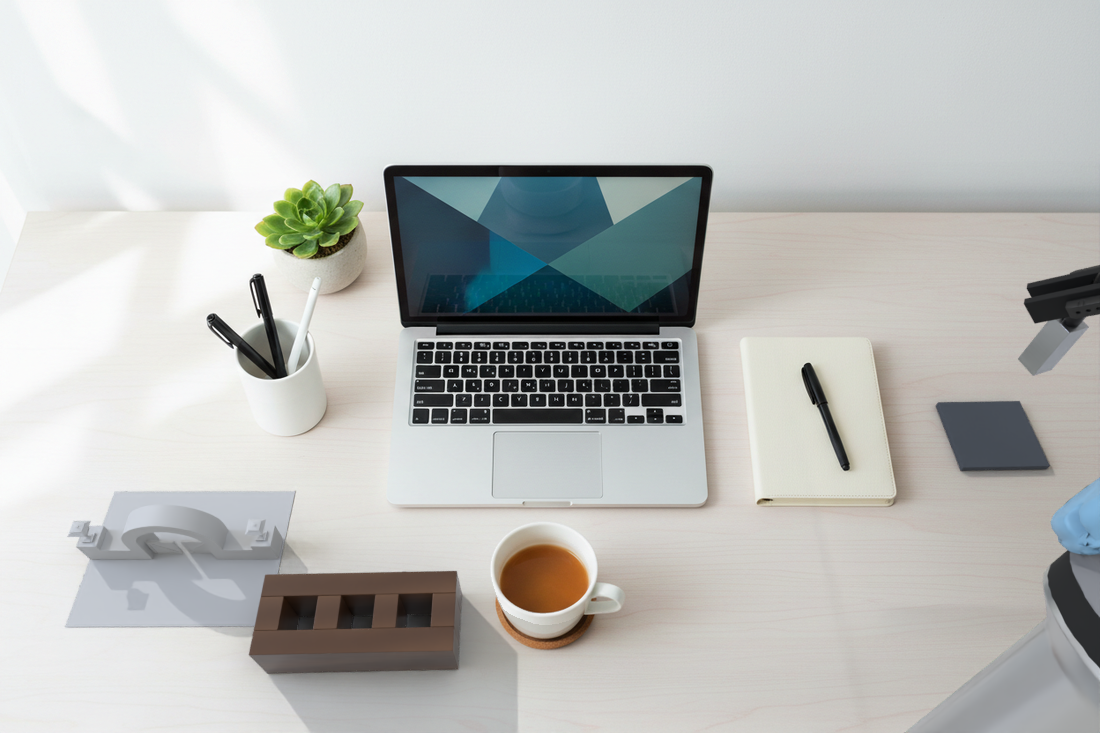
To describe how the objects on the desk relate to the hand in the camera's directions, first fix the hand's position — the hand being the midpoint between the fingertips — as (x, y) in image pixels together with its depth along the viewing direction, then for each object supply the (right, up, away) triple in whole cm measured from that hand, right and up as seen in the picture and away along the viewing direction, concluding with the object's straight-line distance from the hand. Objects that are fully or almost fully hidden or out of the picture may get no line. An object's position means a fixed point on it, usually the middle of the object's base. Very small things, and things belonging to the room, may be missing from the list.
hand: (1031, 303), depth 76 cm
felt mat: (+5, -14, +16) cm, 22 cm away
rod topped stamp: (+3, -6, +5) cm, 8 cm away
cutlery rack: (-65, -33, +1) cm, 73 cm away
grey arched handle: (-85, -26, +6) cm, 90 cm away
